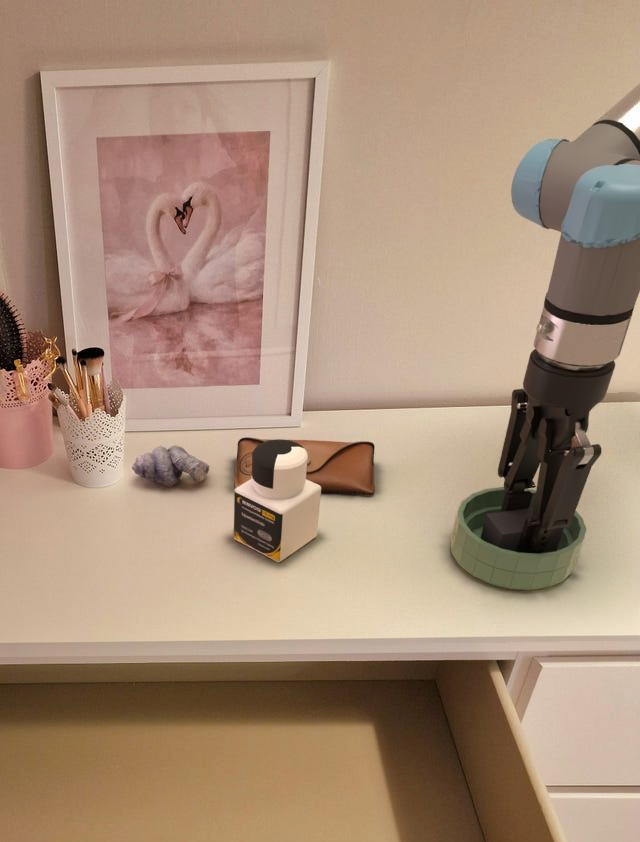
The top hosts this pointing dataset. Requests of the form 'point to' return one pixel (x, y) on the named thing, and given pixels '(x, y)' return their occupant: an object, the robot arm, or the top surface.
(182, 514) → the top surface
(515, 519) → the eraser
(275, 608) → the top surface
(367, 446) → the sunglasses case
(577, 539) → the bowl
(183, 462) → the seashell
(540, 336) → the robot arm
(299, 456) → the medicine bottle
